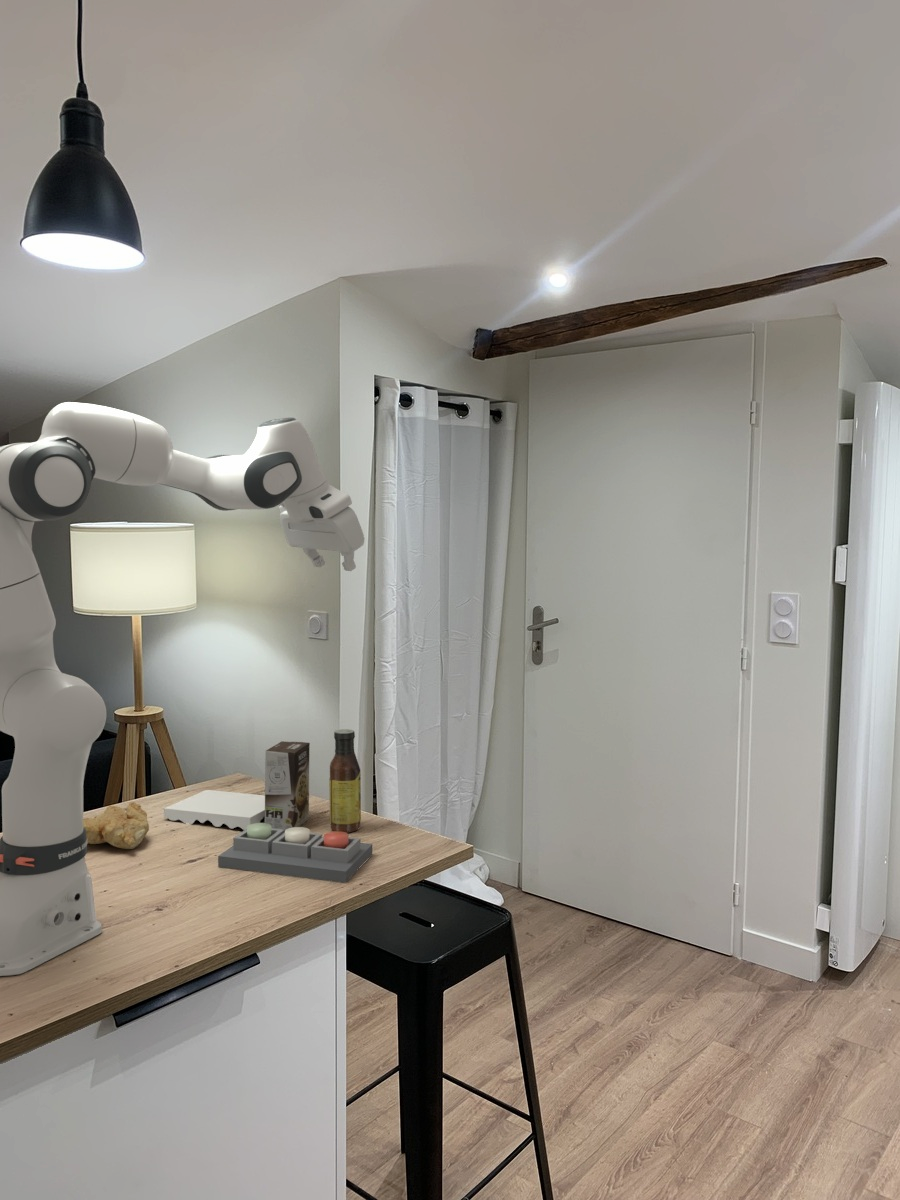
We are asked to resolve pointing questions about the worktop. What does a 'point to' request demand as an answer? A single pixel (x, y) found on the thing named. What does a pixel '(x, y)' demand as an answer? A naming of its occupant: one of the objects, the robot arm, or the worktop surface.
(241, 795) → the white scalloped slab
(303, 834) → the cream button
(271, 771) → the coffee box
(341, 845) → the red button
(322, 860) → the button panel
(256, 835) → the green button
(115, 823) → the ginger root
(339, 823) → the sauce bottle
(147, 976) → the worktop surface
